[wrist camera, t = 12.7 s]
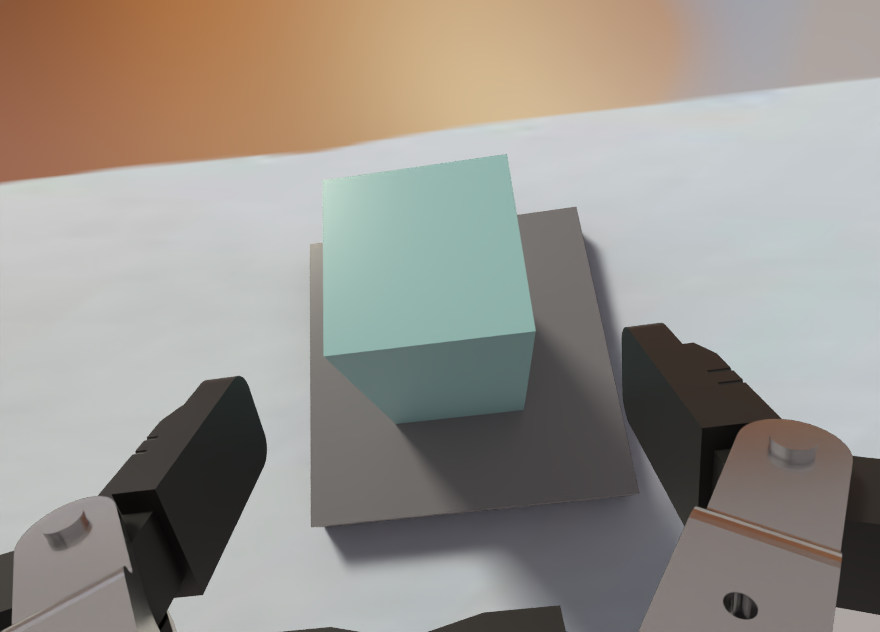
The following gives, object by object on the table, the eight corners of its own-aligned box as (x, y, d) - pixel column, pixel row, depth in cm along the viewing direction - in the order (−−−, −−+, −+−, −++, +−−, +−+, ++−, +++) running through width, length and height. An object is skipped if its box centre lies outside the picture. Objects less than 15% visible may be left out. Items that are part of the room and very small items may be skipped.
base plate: (323, 527, 21) (279, 527, 17) (320, 259, 26) (285, 208, 22) (630, 495, 21) (661, 487, 16) (572, 224, 25) (585, 164, 21)
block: (395, 423, 21) (323, 356, 13) (389, 306, 23) (322, 180, 15) (523, 409, 21) (535, 331, 12) (506, 291, 23) (507, 154, 14)
